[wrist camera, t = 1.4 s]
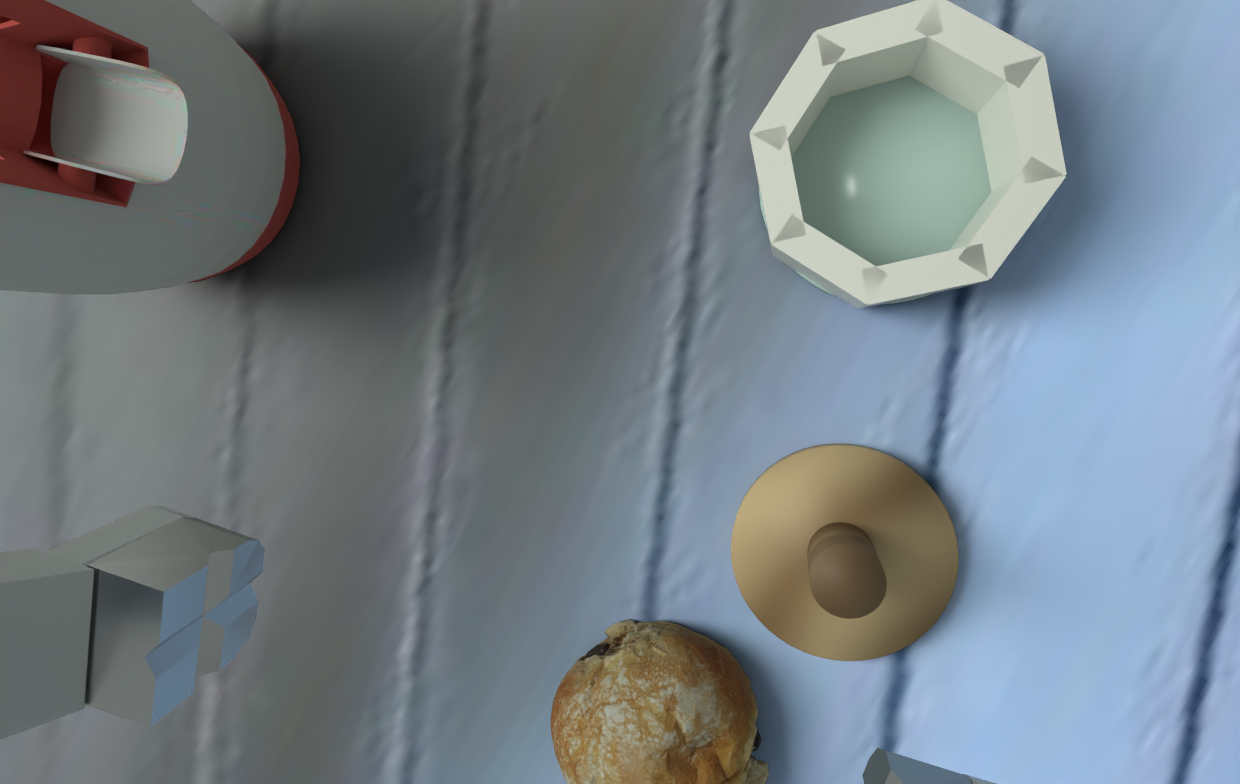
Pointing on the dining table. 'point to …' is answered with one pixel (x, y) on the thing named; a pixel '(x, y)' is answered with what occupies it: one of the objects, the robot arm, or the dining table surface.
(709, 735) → the bread roll
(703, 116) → the dining table surface
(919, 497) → the wooden lid
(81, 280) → the citrus juicer
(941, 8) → the octagonal jar
